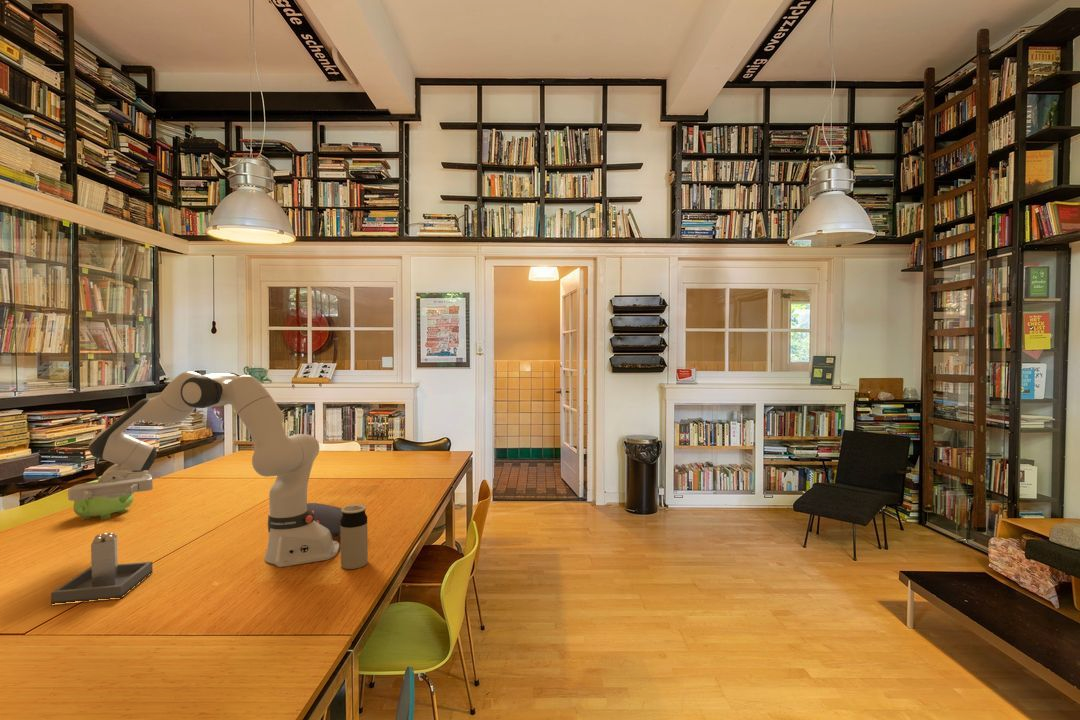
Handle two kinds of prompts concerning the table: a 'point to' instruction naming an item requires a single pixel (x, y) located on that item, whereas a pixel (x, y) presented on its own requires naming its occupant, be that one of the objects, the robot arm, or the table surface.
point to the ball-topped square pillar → (104, 560)
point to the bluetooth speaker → (327, 516)
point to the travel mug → (354, 537)
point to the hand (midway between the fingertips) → (109, 493)
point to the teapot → (102, 505)
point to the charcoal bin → (84, 591)
